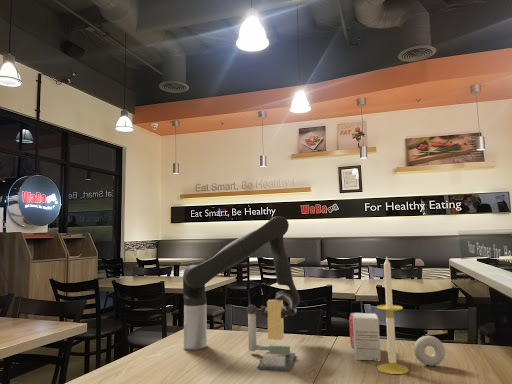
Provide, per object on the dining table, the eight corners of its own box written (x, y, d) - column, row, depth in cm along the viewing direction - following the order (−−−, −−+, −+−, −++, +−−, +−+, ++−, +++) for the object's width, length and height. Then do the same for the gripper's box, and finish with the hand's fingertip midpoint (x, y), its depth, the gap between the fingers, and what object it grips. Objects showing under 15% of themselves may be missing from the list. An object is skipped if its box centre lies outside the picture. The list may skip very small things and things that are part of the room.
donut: (416, 367, 132) (414, 336, 134) (413, 363, 136) (412, 334, 137) (447, 368, 131) (445, 337, 132) (444, 364, 134) (442, 334, 135)
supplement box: (354, 352, 149) (352, 312, 151) (378, 354, 147) (376, 313, 149) (355, 360, 140) (353, 317, 142) (381, 361, 139) (378, 318, 140)
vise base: (266, 354, 150) (266, 343, 150) (295, 355, 147) (295, 344, 148) (257, 369, 133) (257, 356, 134) (289, 371, 131) (289, 357, 132)
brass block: (270, 336, 142) (269, 299, 143) (283, 336, 141) (282, 299, 142) (268, 339, 138) (267, 301, 139) (282, 339, 137) (280, 301, 138)
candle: (394, 363, 137) (388, 254, 141) (415, 372, 128) (408, 255, 132) (370, 367, 133) (365, 255, 137) (390, 376, 124) (384, 257, 128)
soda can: (369, 350, 152) (368, 316, 153) (350, 349, 153) (349, 315, 155) (368, 345, 159) (366, 312, 160) (350, 344, 160) (348, 312, 162)
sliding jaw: (248, 348, 153) (248, 303, 155) (291, 350, 150) (290, 304, 151) (245, 353, 148) (244, 306, 150) (289, 355, 144) (288, 307, 146)
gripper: (263, 295, 156) (253, 303, 140) (299, 296, 153) (294, 304, 137) (264, 315, 156) (254, 325, 139) (300, 315, 152) (294, 326, 136)
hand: (274, 314), depth 138 cm, fingers closed on brass block, 5 cm apart
